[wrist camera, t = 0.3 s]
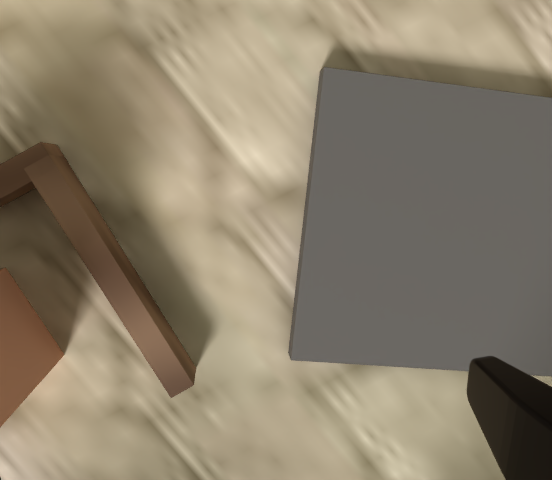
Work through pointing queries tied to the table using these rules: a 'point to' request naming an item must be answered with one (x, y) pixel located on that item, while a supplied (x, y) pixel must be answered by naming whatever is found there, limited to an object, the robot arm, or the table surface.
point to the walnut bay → (100, 257)
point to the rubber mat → (425, 226)
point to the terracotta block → (21, 347)
